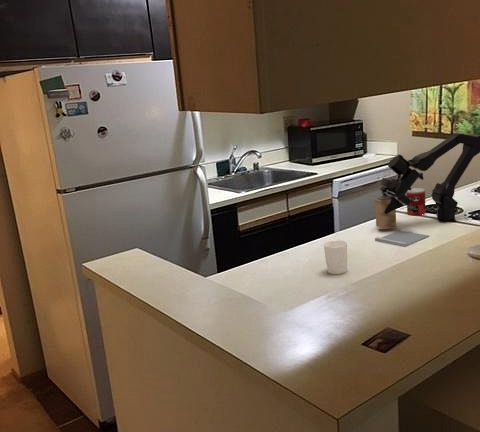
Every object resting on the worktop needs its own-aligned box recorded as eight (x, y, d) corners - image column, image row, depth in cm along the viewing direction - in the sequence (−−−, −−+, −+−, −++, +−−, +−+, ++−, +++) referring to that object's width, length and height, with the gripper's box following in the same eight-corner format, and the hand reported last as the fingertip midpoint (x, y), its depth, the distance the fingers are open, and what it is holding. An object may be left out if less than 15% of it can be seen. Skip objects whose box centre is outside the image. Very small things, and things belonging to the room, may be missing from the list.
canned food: (403, 213, 252) (402, 190, 249) (417, 210, 255) (416, 187, 253) (415, 216, 245) (414, 192, 243) (429, 213, 248) (428, 189, 246)
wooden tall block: (390, 223, 234) (389, 194, 231) (396, 226, 229) (394, 197, 226) (376, 226, 234) (374, 197, 230) (381, 229, 228) (379, 199, 225)
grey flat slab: (399, 231, 228) (399, 228, 228) (429, 236, 217) (429, 233, 217) (375, 240, 219) (375, 238, 219) (404, 247, 208) (404, 244, 208)
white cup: (343, 276, 187) (341, 248, 184) (322, 273, 191) (320, 246, 188) (352, 268, 193) (350, 240, 191) (331, 266, 197) (329, 239, 195)
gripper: (382, 167, 235) (359, 196, 236) (402, 173, 217) (377, 205, 218) (401, 182, 238) (378, 211, 239) (421, 190, 220) (397, 221, 221)
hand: (382, 211), depth 230 cm, fingers closed on wooden tall block, 5 cm apart
